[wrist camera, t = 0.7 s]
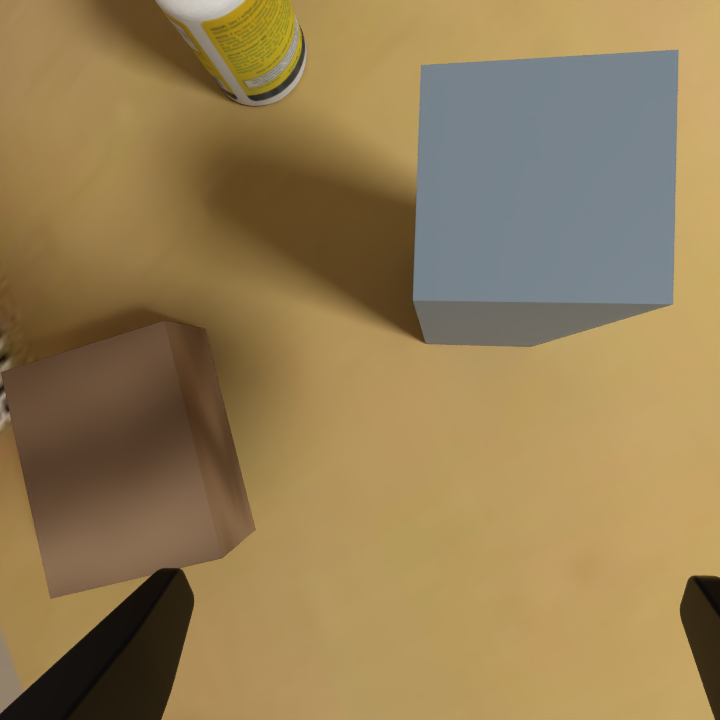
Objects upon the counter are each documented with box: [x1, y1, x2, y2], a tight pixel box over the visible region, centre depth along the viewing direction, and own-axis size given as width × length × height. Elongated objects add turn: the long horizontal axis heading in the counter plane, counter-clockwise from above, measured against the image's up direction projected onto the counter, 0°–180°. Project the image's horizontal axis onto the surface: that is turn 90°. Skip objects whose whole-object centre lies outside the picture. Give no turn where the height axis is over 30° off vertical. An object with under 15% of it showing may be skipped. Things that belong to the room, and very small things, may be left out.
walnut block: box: [1, 321, 256, 599], centre depth 22 cm, size 10×8×4 cm
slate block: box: [413, 50, 678, 347], centre depth 15 cm, size 5×5×13 cm
